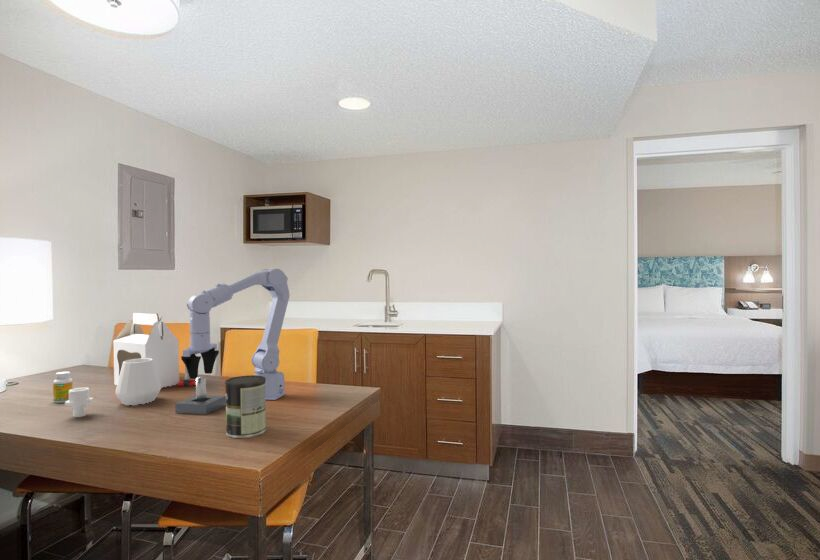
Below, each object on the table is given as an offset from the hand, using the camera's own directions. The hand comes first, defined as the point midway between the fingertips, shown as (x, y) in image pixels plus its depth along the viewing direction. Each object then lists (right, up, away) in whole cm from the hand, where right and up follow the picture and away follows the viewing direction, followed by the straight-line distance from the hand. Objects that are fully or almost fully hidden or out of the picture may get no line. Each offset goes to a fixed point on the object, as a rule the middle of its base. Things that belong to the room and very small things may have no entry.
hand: (201, 375), depth 151 cm
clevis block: (0, -10, 0) cm, 10 cm away
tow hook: (-20, -11, +36) cm, 43 cm away
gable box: (-37, -11, +35) cm, 52 cm away
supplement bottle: (-52, -11, +12) cm, 55 cm away
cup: (-25, -11, +10) cm, 29 cm away
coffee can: (+22, -11, -23) cm, 34 cm away
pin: (0, -10, 0) cm, 10 cm away
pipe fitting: (-34, -11, -6) cm, 37 cm away
